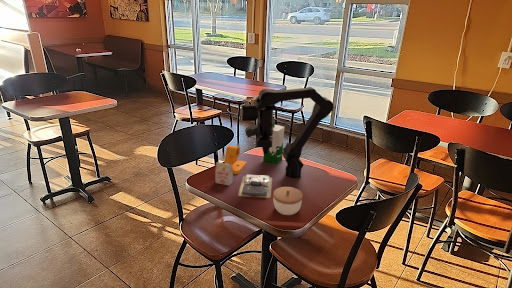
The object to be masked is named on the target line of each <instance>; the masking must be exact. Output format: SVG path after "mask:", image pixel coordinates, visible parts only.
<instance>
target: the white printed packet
mask: <svg viewBox="0 0 512 288" xmlns="http://www.w3.org/2000/svg"><path fill="white" fill-rule="evenodd" d="M214 183H215V184H221V185H225V186H231V185H232V183H234V174H233V170H232V167H231V164H225V162H224V163H223V162H218V161H217V162H216V163H215V169H214Z"/></svg>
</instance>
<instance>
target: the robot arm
mask: <svg viewBox="0 0 512 288" xmlns="http://www.w3.org/2000/svg"><path fill="white" fill-rule="evenodd" d="M304 99H310V100H311V101H313V102H314V105H313V107H312V111H311V115H310V116H309V118H308V119H307V121H306V122H305V124H304V125H303V127H302V128H301V130H300V131H299V133H298V135H297V136H296V138H295V139H294V141H292V142H291V143H290V142H287V143H285V147H283V155H282V158H283V159H284V161H285V162H286V165H285V173H284V174H285V177H289V178H290V179H298V178H302V169H303V167H304V165H305V164H304V163H303V161H302V160H301V156H302V152H303V148H304V146H305V145H306V143H307V142H308V141H309V139H310V137H312V135H313V133H314V131H315V130H316V129H317V127H318V125H319V124H320V122H321V121H322V120H324V119H325V118H327V117H328V116H329V115H330V114H331V113H332V112H333V111H334V108H335V107H334V103H333V101H332V100H330V99H328V98H327V97H326V96H322V95H321V94H320V93H319V92H318V91H317V90H316V89H315V88H313V87H311V86H307V87H301V88H293V89H284V90H283V89H282V90H280V89H271V88H263V89H261V90H260V91H259V92H258V96H257V98H256V99H255V101H254V102H253V104H241V108H240V109H241V110H240V119H241V122H256V121H257V120H258V123H257V124H254V125H250V126H246V127H245V129H244V132H245V135H246V138H251V137H254V136H257V137H258V138H257V139H256V147H257V148H262V154H263V156H264V155H266V154H267V152H268V150H269V148H270V147H272V140H273V137H270V136H272V134H273V122H274V111H278V110H279V108H278V107H277V106H276V104H277V105H278V103H281V102H287V101H295V100H304Z"/></svg>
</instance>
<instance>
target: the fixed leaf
mask: <svg viewBox="0 0 512 288" xmlns="http://www.w3.org/2000/svg"><path fill="white" fill-rule="evenodd" d="M245 176H246V179H245V180H244V185H250V183H251V181H261V182H262V186H268V182H269V178H270V175H265V174H264V175H262V174H261V175H260V174H259V175H258V174H246V175H245Z"/></svg>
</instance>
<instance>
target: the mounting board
mask: <svg viewBox="0 0 512 288" xmlns="http://www.w3.org/2000/svg"><path fill="white" fill-rule="evenodd" d="M245 179H246V175H243V176H242V179H241V183H240V186H239V190H238V193H237V196H238V197H248V198H249V197H250V198H264V199H265V198H270V199H271V197H272V187H273V184H272V183H273V177H269V182H268V190H267V195H250V194H242V190H243V186H244V180H245ZM250 186H251V185H250Z"/></svg>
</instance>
